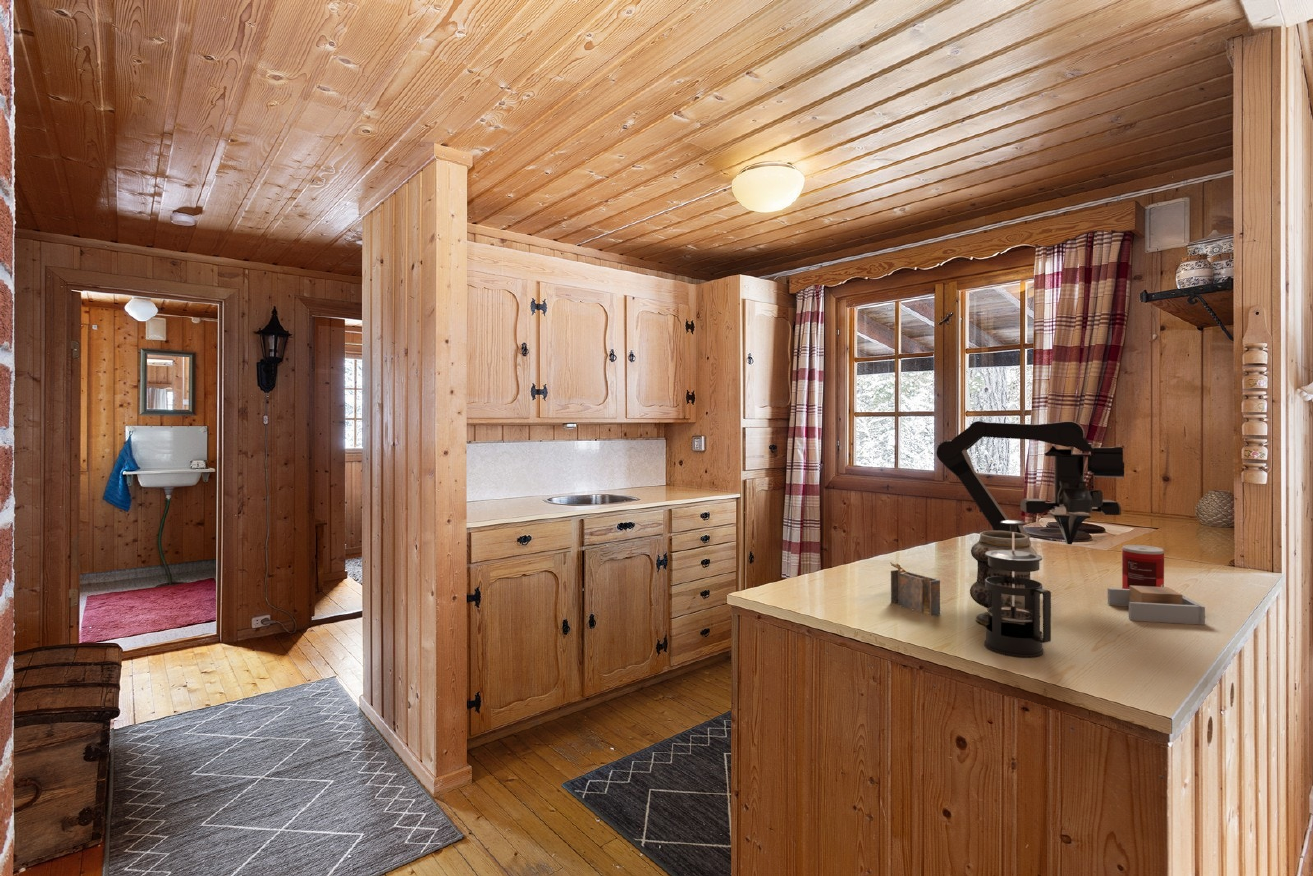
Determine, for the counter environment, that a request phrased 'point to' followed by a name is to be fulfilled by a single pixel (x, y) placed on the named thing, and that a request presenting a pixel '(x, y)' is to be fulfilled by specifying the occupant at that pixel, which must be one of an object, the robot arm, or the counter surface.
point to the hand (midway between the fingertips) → (1069, 544)
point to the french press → (1013, 635)
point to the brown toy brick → (1154, 595)
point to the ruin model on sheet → (915, 591)
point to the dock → (1158, 609)
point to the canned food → (1142, 566)
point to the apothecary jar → (990, 543)
